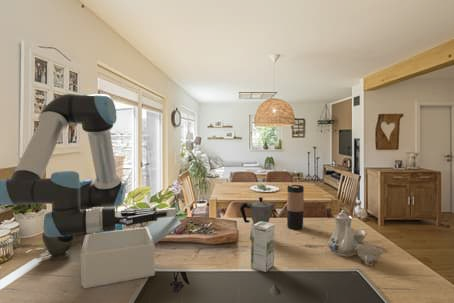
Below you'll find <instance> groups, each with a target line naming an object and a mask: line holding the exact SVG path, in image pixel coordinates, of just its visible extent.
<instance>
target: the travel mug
mask: <svg viewBox="0 0 454 303" xmlns="http://www.w3.org/2000/svg"><path fill="white" fill-rule="evenodd" d="M304 187H305V186H304V185H301V184H292V185H287V188H286V189H287V192H286V195H287V196H286V203H287V204H286V208H287V209H286V220H287V222H286V223H287V224H286V226H287V229H288V230H293V231H301V230H302V229H303V228H304V213H305V212H304V209H305V207H304V206H305V204H304V201H305V200H304V199H305V197H304V196H305V195H304V194H305V193H304V190H305V189H304Z"/></svg>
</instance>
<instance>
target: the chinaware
mask: <svg viewBox="0 0 454 303" xmlns="http://www.w3.org/2000/svg"><path fill="white" fill-rule="evenodd" d="M333 216H334V222H335V224H334V231H333V233H332V235H331V236H330V238H329V239H328V240H327V246H328V248H329V249H330V252H331V253H333V254H334V255H337V256H340V257H352V256H354V255H355V252H357V255H358V257H359V259H360V260H362V262H363V264H364V265H366V266H373V264H374V263H376V262H378V261H379V259H380V256H381V254H383V248H382V247H376V245H374V244H371V243H367V244H362V242H363V241H364V239H365V236H367V235H368V233H367V232H365V231H364V230H363V229H361V228H360V229H354V228H352V219H353V216H351V215H349V214H348V213H346V211H345V209H342V210H341V211H340V212H338V214H334V215H333Z"/></svg>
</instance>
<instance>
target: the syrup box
mask: <svg viewBox="0 0 454 303" xmlns="http://www.w3.org/2000/svg"><path fill="white" fill-rule="evenodd" d="M275 227H276V226H275V223H274V224H273V223H270V222H269V223H268V222H258V223H256V224H254V225H251V229H252V240H250V243H251V245H250V246H251V248H250V250H251V252H250V253H251V254H250V268H251V269H255V270H258V271H261V272H265V273H267V272H268V271H269V270H270V269H271V268H272V267H274V265H275V263H274V262H275V261H274V260H275Z"/></svg>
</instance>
